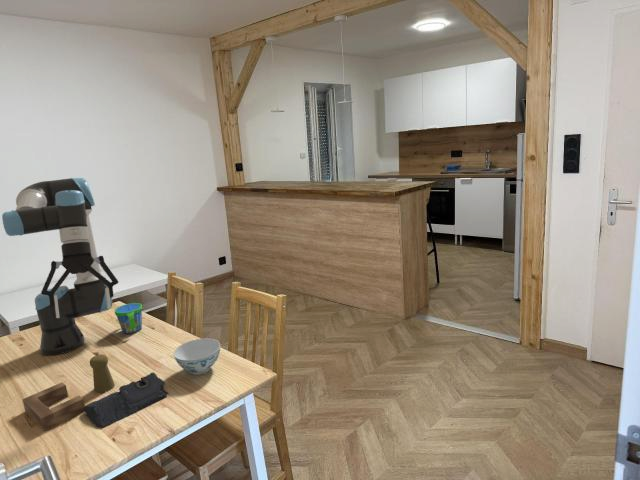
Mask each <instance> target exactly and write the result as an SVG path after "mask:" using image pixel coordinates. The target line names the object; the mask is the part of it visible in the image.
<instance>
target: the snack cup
mask: <svg viewBox="0 0 640 480" xmlns="http://www.w3.org/2000/svg"><path fill="white" fill-rule="evenodd" d="M142 310H143V305H142V303H138V302H132V303H131V302H130V303H125V304H123V305H120V306H117V307H116V308H115V309H114V315H115V316H116V318H117V321H118V323H119V326H120V328H121V331H122V333H124V334H134V333H136V332H137V333H138V332H139V331H141V330H142V328H143V327H142V326H143V311H142Z"/></svg>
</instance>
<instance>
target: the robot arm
mask: <svg viewBox="0 0 640 480" xmlns="http://www.w3.org/2000/svg"><path fill="white" fill-rule="evenodd" d="M15 204H16V208H15V210H13V209H12V210H11V211H5V212H3V213H2V215H1V217H2V218H1V219H2V225H3V228H4V231H5V234H6V235H8V236H9V237H14V236H23V235H30V234H37V233H42V232H51V231H56V230H59V237H60V239H59V240H60V243H61V246H60V247H61V253H62V261H55V260H53V261H51V262H50V271H49V273H48V276H47V278H46V279H45V283H44V285H43V286H42V289H41V291H40V293H38V294H37V295H36V296H35V298H34V305H35V311H36V313H37V318H38V322H39V325H40V331H41V338H40V345H39V350H40V354H41V355H44V356H55V355H57V356H58V355H61V354H65V353H69V352H72V351H73V350H76V349H78V348H80V347H81V346H82V345H83V344H84V343H85V336H84V334H83V332H82V331H81V329H80V328H79V326H78V325H77V323H76V319H77V318H81V317H82V318H83V317H85V316H90V315H94V314H95V315H96V314H101V313H103V312H107V311H109V310H112V307H113V297H115V296H114V290H113V288H114V286H116V285H117V284H119V280H118V279H117V277H116V276H115V274H114V273H113V271H111V269H110V268H109V266H108V265H107V264H106V262H105V258H104V255H99V256H98V254H97V249H96V244H95V239H94V235H93V230H92V225H91V221H90V214H91V212H93V210H92V209H93V208H92V207H94V206H95V205H96V204H95V200H94V197H93V194H92V191H91V189H90V186H89V183H88V182H87V180H86V179H85V178H83V177H70V178H63V179H54V180H44V181H43V180H42V181H39V182H35V183H33V184H30V185H28V186H27V187H25V188H23V189H21V190H20V192H19V193H18V194H17V196H16V199H15ZM60 266H62V267H63V268H64V269H65V271H64V272H63V273H62V275H61V276H60V278H59V279H58V280H57V281H56V283H55V284H54V286H53V287H51V288H49V287H50V284H51V282H52V281H53V277H54V275H55V273H56V270H57V269H60ZM100 266H101V269H102V270H103V271H104V273H106V276H108V278H109V279H110V280H108V279H107V277H106V276H105V275H103V274H102V273H101V269H100ZM70 274H71V275H76V279H75V281H74V282H73V288H69V287H68V286H67V285H62V284H63V283H64V282H65V280H66V279H67V277H68V276H69V275H70Z"/></svg>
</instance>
